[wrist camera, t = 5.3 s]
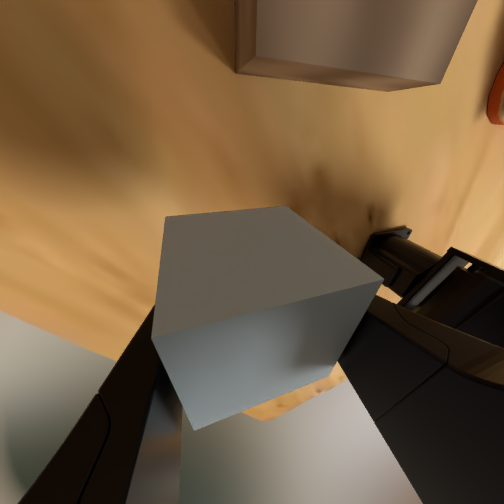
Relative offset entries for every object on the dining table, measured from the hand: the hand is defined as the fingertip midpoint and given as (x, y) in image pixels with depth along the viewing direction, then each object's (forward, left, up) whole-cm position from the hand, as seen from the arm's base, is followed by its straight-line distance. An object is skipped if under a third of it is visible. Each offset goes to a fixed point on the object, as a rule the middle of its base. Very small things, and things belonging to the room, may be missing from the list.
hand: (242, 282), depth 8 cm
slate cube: (0, 0, -2) cm, 2 cm away
